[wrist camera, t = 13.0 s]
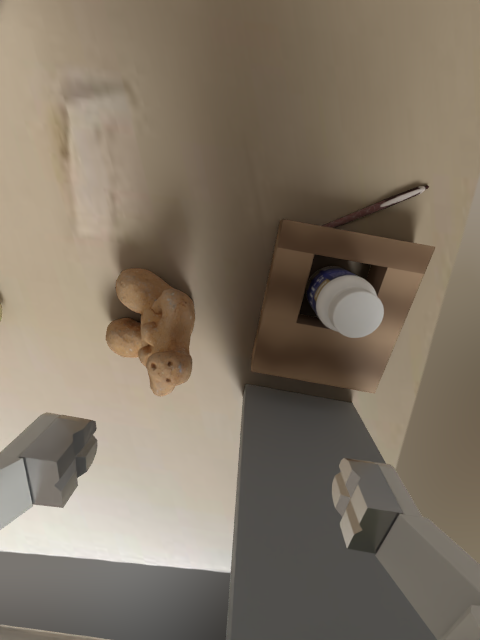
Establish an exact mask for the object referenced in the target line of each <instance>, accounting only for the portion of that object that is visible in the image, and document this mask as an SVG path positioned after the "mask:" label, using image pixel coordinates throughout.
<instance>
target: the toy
mask: <svg viewBox="0 0 480 640" xmlns="http://www.w3.org/2000/svg"><path fill="white" fill-rule="evenodd" d="M1 318H2V306H1V303H0V321H1Z"/></svg>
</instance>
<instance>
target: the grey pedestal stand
mask: <svg viewBox="0 0 480 640" xmlns="http://www.w3.org/2000/svg"><path fill="white" fill-rule="evenodd" d="M343 458H349V459H356V460H363V461H370V462H377V463H384V464H386V463H385V461H384V459H383V457H382V456H381V454H380V452H379V450H378V448H377V447H376V445H375V443H374V441H373V439H372V438H371V436H370V434H369V432H368V430H367V428H366V427H365V425H364V423H363V421H362V419H361V418H360V416H359V414H358V412H357V410H356V409H355V407H354V405H353V403H350V402H345V401H339V400H333V399H328V398H322V397H316V396H311V395H305V394H300V393H294V392H288V391H283V390H277V389H272V388H266V387H260V386H255V385H249V384H246V385H245V390H244V395H243V405H242V419H241V433H240V448H239V462H238V476H237V491H236V505H235V520H234V534H233V548H232V563H231V578H230V591H229V607H228V620H227V635H226V640H437V639H436V637H435V636H434V635H433V633H432V632H431V631H430V629H429V628H428V627H427V625H426V624H425V622H424V621H423V620H422V618H421V617H420V616H419V614H418V613H417V612H416V610H415V609H414V608H413V606H412V605H411V603H410V602H409V601H408V599H407V598H406V597H405V595H404V594H403V593H402V591H401V590H400V588H399V587H398V586H397V584H396V583H395V582H394V580H393V579H392V578H391V576H390V575H389V573H388V572H387V571H386V569H385V568H384V567H383V565H382V564H381V563H380V561H379V560H378V558H377V557H376V556H375V555H376V554H374V553H368V552H362V551H357V550H351V549H347V547H346V544H345V540H344V537H343V534H342V530H341V527H340V521H341V519H342V516H341V515H340V513H339V512H338V511H337V510H336V509H335V506H334V502H333V498H332V482H333V480H334V477H335V475H337V474H338V473H340V472H341V471H340V468H339V464H340V462H341V460H342V459H343Z"/></svg>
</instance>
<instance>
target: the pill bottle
mask: <svg viewBox="0 0 480 640" xmlns="http://www.w3.org/2000/svg"><path fill="white" fill-rule="evenodd" d="M306 298H307V300H308V302H309V304H310V306H311V307H312V308H313V310H314V311H315V313H316V314H317V316H318V317H319V319H320V320H321V322H322V323H323V324H324V325H325V326H326V327H328V328H330V329H331V330H334V331H337V332H339V333H341V334H342V335H344V336H346V337H350V338H360V337H364V336H367V335H369V334H371V333H372V332H373V331H375V330H376V329H377V328H378V326H379V325H380V323H381V322H382V319H383V315H384V308H383V304H382V302H381V300H380V299H379V298H378V297H377V294H376V292H375V289H374V288H373V286H372V285H371V284H370V283H369V282H368V281H366V280H365V279H363V278H361V277H359V276H357V275H355V274H353V273H351V272H349V271H348V270H346V269H343V268H341V267H338V266H327V267H324V268H321V269H319V270H318V271H316V272H315V273H314V274H313V275H312V276H311V277H310V279H309V280H308V283H307V286H306Z"/></svg>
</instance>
